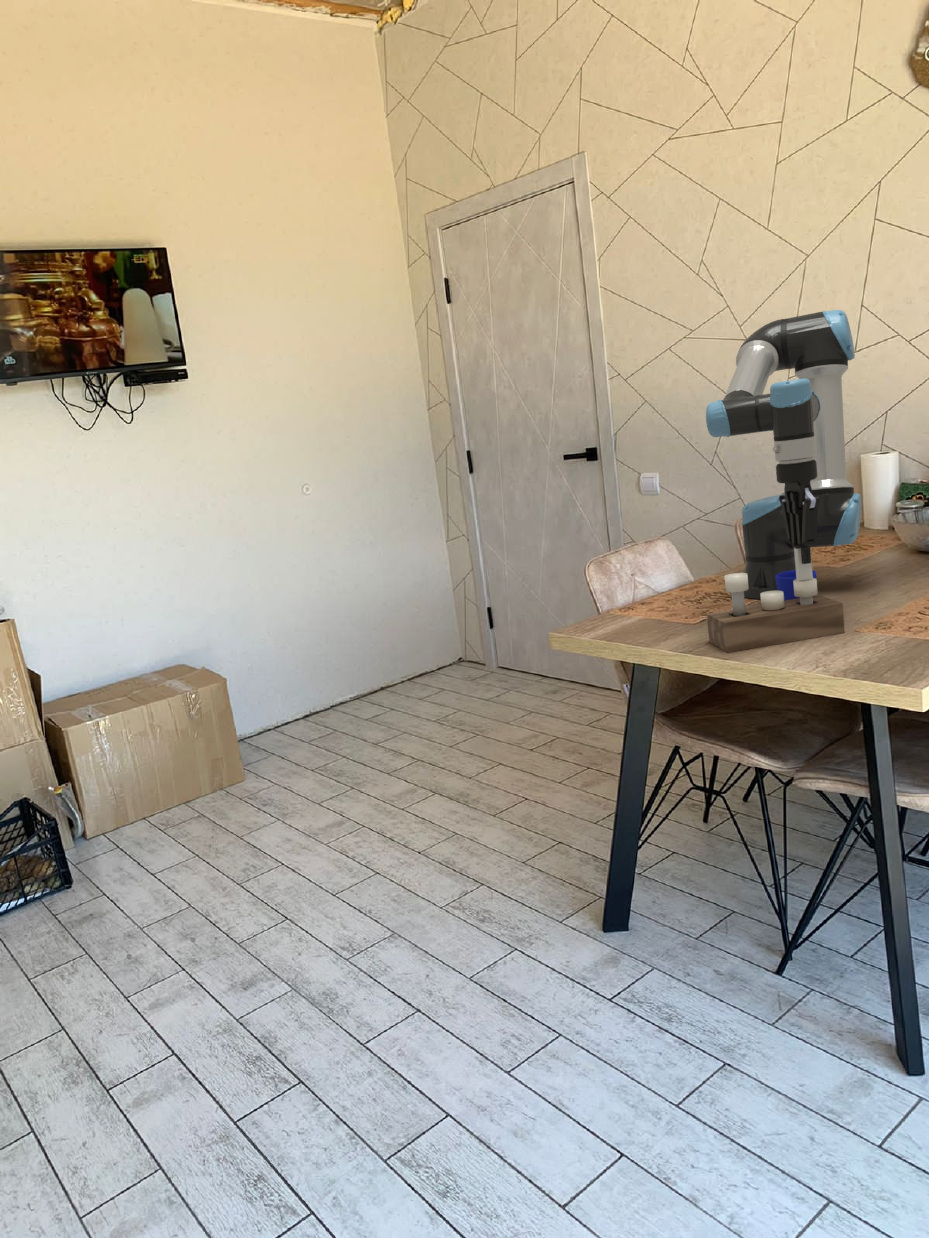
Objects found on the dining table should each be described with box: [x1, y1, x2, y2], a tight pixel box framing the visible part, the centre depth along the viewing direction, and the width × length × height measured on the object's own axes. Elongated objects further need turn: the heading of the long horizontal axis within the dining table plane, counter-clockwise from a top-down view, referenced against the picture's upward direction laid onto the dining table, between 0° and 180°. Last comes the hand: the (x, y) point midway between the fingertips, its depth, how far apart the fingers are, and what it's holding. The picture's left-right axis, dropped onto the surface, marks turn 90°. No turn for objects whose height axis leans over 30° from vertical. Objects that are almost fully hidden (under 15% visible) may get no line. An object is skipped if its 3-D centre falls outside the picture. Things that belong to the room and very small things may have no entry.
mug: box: [775, 569, 817, 601], centre depth 201 cm, size 8×12×10 cm
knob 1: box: [723, 572, 749, 617], centre depth 186 cm, size 4×4×9 cm
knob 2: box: [760, 591, 785, 611], centre depth 188 cm, size 4×4×9 cm
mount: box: [706, 594, 845, 653], centre depth 188 cm, size 10×24×6 cm, turn 96°
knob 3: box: [793, 577, 819, 606], centre depth 188 cm, size 4×4×9 cm
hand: (804, 579), depth 187 cm, fingers closed
